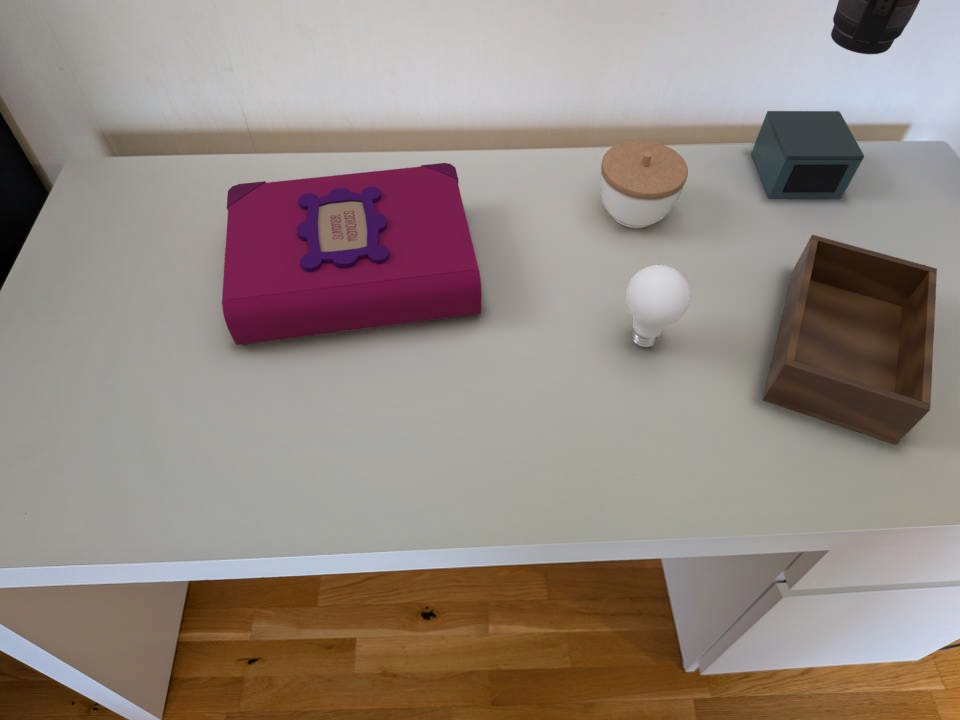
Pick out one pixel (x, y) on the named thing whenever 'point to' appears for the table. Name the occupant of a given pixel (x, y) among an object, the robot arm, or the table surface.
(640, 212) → the trinket box
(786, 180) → the cabinet block
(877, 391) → the wooden box
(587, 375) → the table surface
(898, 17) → the camera lens
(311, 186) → the book
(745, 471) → the table surface
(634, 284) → the light bulb
